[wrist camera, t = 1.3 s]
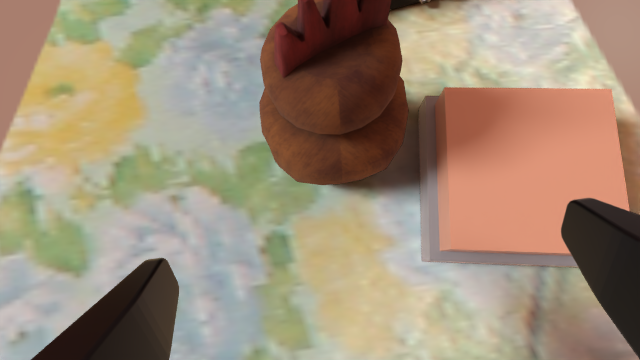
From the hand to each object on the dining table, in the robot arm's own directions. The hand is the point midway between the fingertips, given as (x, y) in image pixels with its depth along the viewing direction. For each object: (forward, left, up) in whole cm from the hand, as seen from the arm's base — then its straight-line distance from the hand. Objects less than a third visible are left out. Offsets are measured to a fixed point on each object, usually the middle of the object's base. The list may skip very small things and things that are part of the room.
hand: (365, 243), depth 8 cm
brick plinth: (+5, -8, -13) cm, 16 cm away
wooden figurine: (+7, +1, -13) cm, 15 cm away
